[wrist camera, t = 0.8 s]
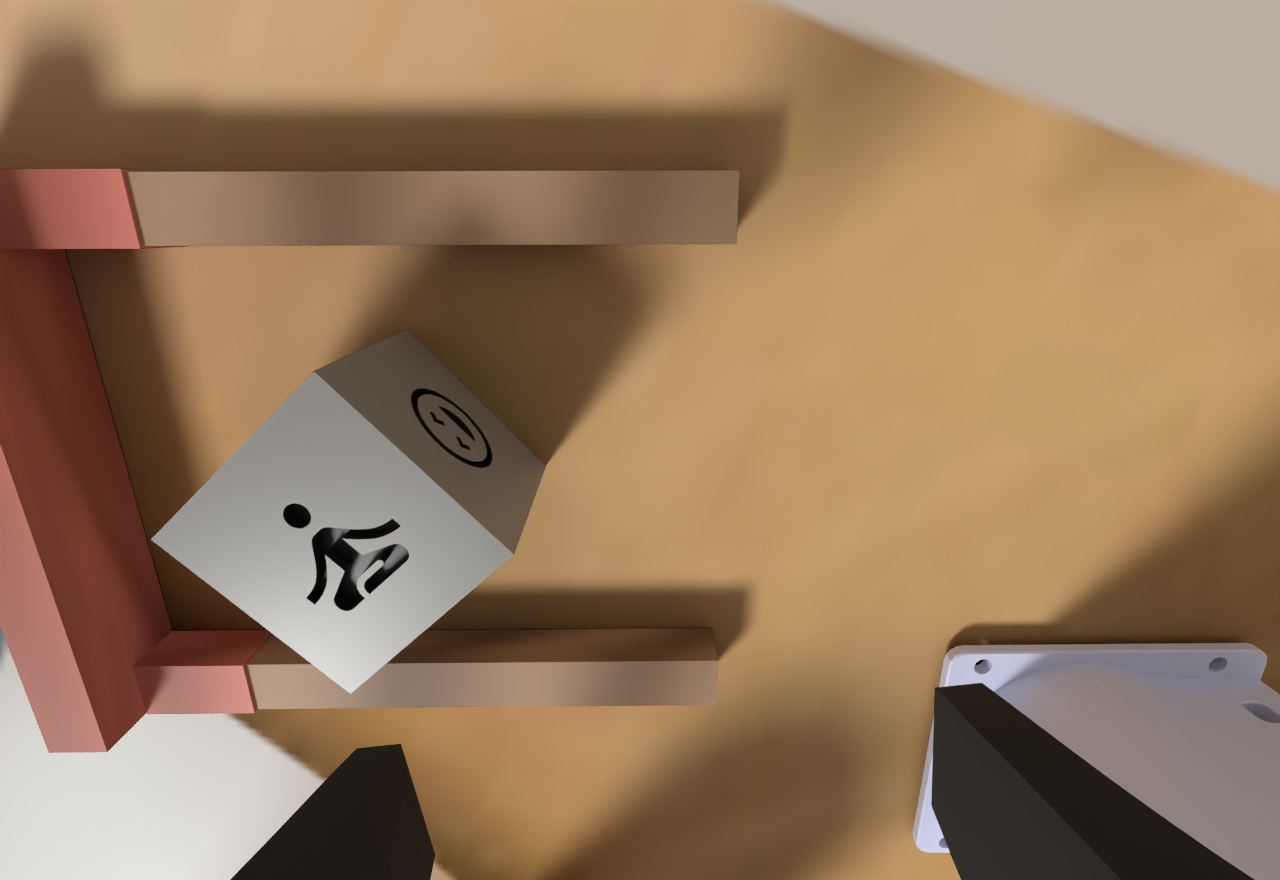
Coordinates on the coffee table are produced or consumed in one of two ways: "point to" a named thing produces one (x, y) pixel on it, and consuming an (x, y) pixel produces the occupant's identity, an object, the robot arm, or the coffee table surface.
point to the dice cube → (361, 509)
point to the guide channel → (103, 496)
